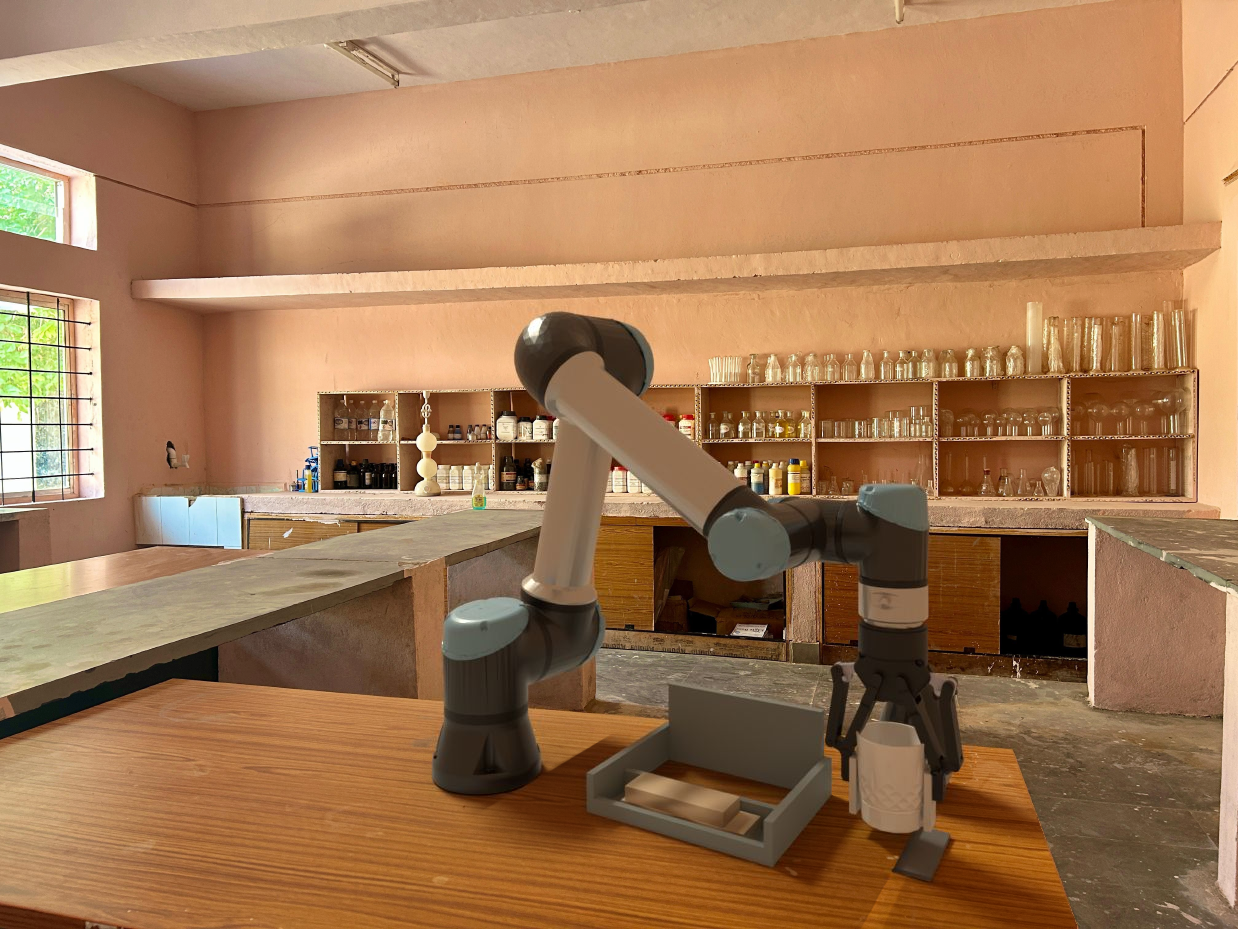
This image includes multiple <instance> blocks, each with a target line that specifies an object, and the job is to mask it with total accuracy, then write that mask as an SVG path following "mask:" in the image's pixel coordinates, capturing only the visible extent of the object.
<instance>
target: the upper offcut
mask: <svg viewBox="0 0 1238 929" xmlns="http://www.w3.org/2000/svg"><path fill="white" fill-rule="evenodd" d="M653 774H654V773H652V774H649V773H646V772H644V773H642V774H641V775H640V776H638V777H637V778H635V779H634V780H633V781H631V782H630V783H628V784H627V785H625V801H629V802H632V803H636V804H639V805H643V806H646V807H650V808H653V809H657V810H661V811H664V812H668V813H671V814H675V815H678V816H682V817H685V818H689V819H692V820H696V821H699V822H703V823H707V824H710V825H714V826H717V827H721V828H724V827H725V826H726V825H727V824H728V823H729V822H730V821H731V820H732V819H733V818H734V817H735V816H736V815H737V814H738V813H739V812H740V797H739V796H740V795H738V796H735V795H736V794H734V795H731V794H732V793H730V794H727V793H728V792H726V793H723V792H724V791H722V792H719V791H720V790H718V791H716V790H717V789H714V790H712V789H713V788H710V789H708V788H709V787H706V788H704V787H705V786H702V787H700V786H701V785H699V786H696V785H697V784H695V785H692V784H693V783H691V784H688V783H689V782H687V783H684V782H685V781H683V782H681V781H682V780H679V781H677V780H678V779H675V780H673V779H674V778H671V779H669V778H670V777H667V778H665V777H666V776H663V777H661V776H662V775H660V776H657V775H658V774H656V775H653Z"/></svg>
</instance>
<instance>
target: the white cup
mask: <svg viewBox="0 0 1238 929" xmlns="http://www.w3.org/2000/svg"><path fill="white" fill-rule="evenodd" d="M856 739H857V746H856V750H857V763H858V781H859V793H860V798H861V808H860V813H861V818H862V820H863V822H865V823H866V824H867V825H868V826H870V827H872V828H875V829H877V830H879V831H883V832H887V833H891V834H909V833H913V831H916V830H919V829H920V827H921V826H924V772H925V771H926V769H927V767H928V761H927V758H926V756H925V753H924V744H923V743H922V744H921V743H920V741H919V738H918V735H917V733H916V730H915V728H914V727H913V726H909V725H906V724H901V723H894V722H879V721H873V722H867V723H866V725H865V727H864V729H863V731H862V732H861V733H860V734H859V732H858V731H856Z"/></svg>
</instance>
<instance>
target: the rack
mask: <svg viewBox="0 0 1238 929" xmlns="http://www.w3.org/2000/svg"><path fill="white" fill-rule="evenodd" d="M667 691H668V721H665V722H664V723H662V724H660V725H659V726H657V727H656V728H654V729H652V730H651V731H649V732H648V733H646V734H645V735H643V736H642V737H640V738H638V739H637V740H636V741H634V742H633V743H631V744H629V745H628V746H626V747H624V748H623V749H621V750H619V751H618V752H617V753H615V754H614V755H612V756H610V757H609V758H607V759H606V760H604V761H603V762H601V763H599V764H598V765H596V766H595V767H593V768H592V769H590V770H589V771H587V772H586V779H585V780H586V812H587V813H590V814H593V815H597V816H600V817H604V818H607V819H610V820H614V821H617V822H620V823H622V824H626V825H630V826H634V827H637V828H640V829H643V830H646V831H649V832H653V833H657V834H660V835H663V836H666V837H670V838H673V839H676V840H680V841H682V842H686V843H690V844H694V845H697V846H700V847H703V848H707V849H710V850H713V851H717V852H719V853H722V854H727V855H730V856H734V857H736V858H740V859H743V860H747V861H749V862H753V863H756V864H760V865H764V866H767V867H770V868H773V867H774V866H775V865H776V864H777V862H779V860H780V859H781V858H782V856H783V855H784V854H785V853H786V851H788V848H790V846H791V845H792V844H793V843H794V842H795V840H796V839H797V837H798V836H800V834H801V833H802V831H803V830H804V829H805V828H806V827H807V826H808V824H809V823H810V822H811V821H812V819H814V817H815V816H816V814H818V812H819V811H820V809H821V808H822V807H823V806H824V804H825V803H826V802H827V801H828V799H829V798H830V797H831V796H832V788H833V787H832V783H833V780H832V779H833V777H832V775H833V774H832V773H833V772H832V771H833V770H832V768H833V766H832V764H833V763H832V762H833V761H832V760H833V759H832V758H833V757H831V756H827V755H825V709H823V708H817V707H813V706H808V705H803V704H796V703H791V702H785V701H781V700H775V699H771V698H770V699H769V698H764V697H759V696H758V697H757V696H753V695H749V694H748V695H747V694H742V693H739V692H738V693H737V692H731V691H726V690H720V689H715V688H709V687H704V686H699V685H694V684H688V683H682V682H677V681H674V680H673V681H670V682H669V683H668V690H667ZM668 761H674V762H677V763H682V764H685V765H690V766H694V767H699V768H703V769H707V770H711V771H715V772H719V773H722V774H723V773H724V774H727V775H731V776H735V777H739V778H743V779H747V780H748V779H749V780H751V781H756V782H761V783H763V784H768V785H773V786H777V787H781V788H785V789H789V790H791V791H790V792H788V794H787V795H786V796H784V798H783V799H782V800H781V801H780V802H779V803H778V804H772V803H768V802H764V801H760V800H756V799H752V798H749V797H745V796H740V795H737V794H733V793H729V792H727V791H726V792H725V791H722V790H721V791H720V790H717V789H715V788H710V787H705V786H702V785H699V784H694V783H690V782H687V781H682V780H678V779H674V778H671V777H667V776H663V775H659V774H655V773H653V772H654V770H656V769H658V768H659V767H660V766H661V765H663V764H664V763H665V762H668ZM644 772H646V773H649V774H653V775H657V776H661V777H665V778H669V779H673V780H677V781H681V782H684V783H688V784H692V785H696V786H700V787H704V788H708V789H712V790H716V791H719V792H723V793H727V794H731V795H735V796H739V797H740V811H743V812H747V813H750V814H754V815H758V816H761V832H760V833H759V834H758V835H757V836H756V837H755V838H754V839H753V840H752V839H748V838H745V837H741V836H738V835H734V834H731V833H727V832H724V831H720V830H717V829H713V828H710V827H706V826H703V825H699V824H696V823H692V822H689V821H685V820H682V819H678V818H675V817H671V816H668V815H664V814H661V813H657V812H654V811H650V810H647V809H643V808H639V807H636V806H632V805H629V804H625V803H622V802H621V799H623V798H624V797H625V785H627V784H628V783H630V782H631V781H633V780H634V779H635V778H637V777H638V776H640V775H641V774H642V773H644Z"/></svg>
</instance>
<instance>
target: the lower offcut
mask: <svg viewBox="0 0 1238 929" xmlns="http://www.w3.org/2000/svg"><path fill="white" fill-rule="evenodd" d="M621 802H622V803H625V804H629V805H632V806H636V807H639V808H643V809H647V810H650V811H654V812H657V813H661V814H664V815H668V816H671V817H675V818H678V819H682V820H685V821H689V822H692V823H696V824H699V825H703V826H706V827H710V828H713V829H717V830H720V831H724V832H727V833H731V834H734V835H738V836H741V837H745V838H748V839H752V840H753V839H754V838H755V837H756V836H757V835H758V834H759V833H760V832H761V816H758V815H754V814H750V813H747V812H743V811H740V812H739V813H738V814H737V815H736V816H735V817H734V818H733V819H732V820H731V821H730V822H729V823H728V824H727V825H726V826H725V827H724V828H721V827H717V826H714V825H710V824H707V823H703V822H699V821H696V820H692V819H689V818H685V817H682V816H678V815H675V814H671V813H668V812H664V811H661V810H657V809H653V808H650V807H646V806H643V805H639V804H636V803H632V802H629V801H625V797H624V798H623V799H621Z"/></svg>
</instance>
